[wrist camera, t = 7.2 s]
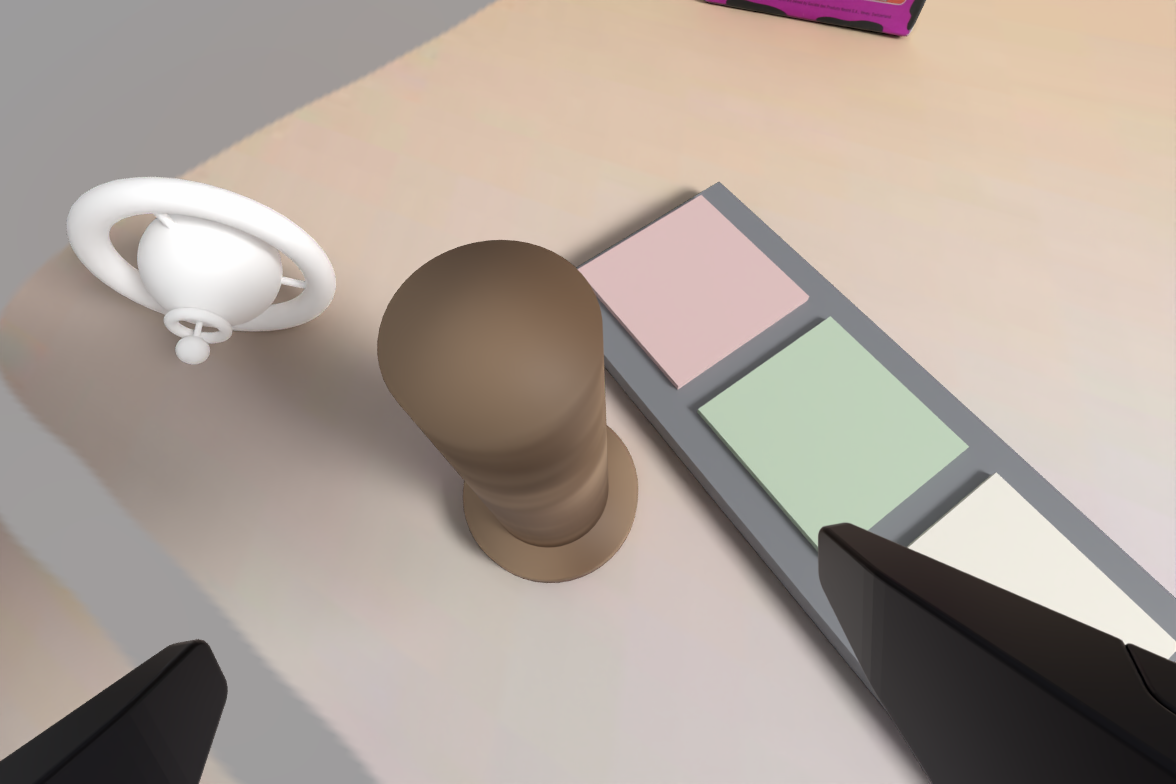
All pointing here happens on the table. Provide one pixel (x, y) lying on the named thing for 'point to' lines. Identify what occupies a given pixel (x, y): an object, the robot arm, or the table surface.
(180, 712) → the robot arm
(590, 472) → the brown wooden peg
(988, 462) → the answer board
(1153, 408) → the table surface
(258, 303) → the ring around a ball
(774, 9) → the candy bar box
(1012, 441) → the table surface
